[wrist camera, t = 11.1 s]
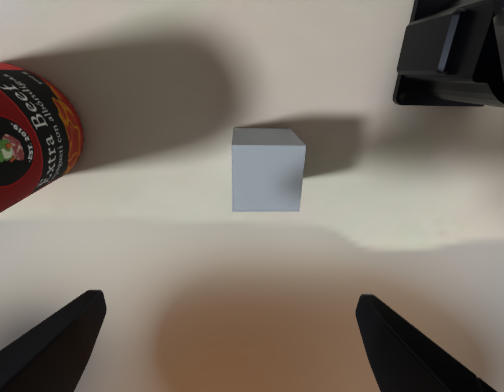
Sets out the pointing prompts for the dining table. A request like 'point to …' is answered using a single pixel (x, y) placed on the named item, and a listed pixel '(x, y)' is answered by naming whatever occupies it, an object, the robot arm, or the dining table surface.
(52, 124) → the canned food
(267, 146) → the grey block
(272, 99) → the dining table surface
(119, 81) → the dining table surface
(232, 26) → the dining table surface
